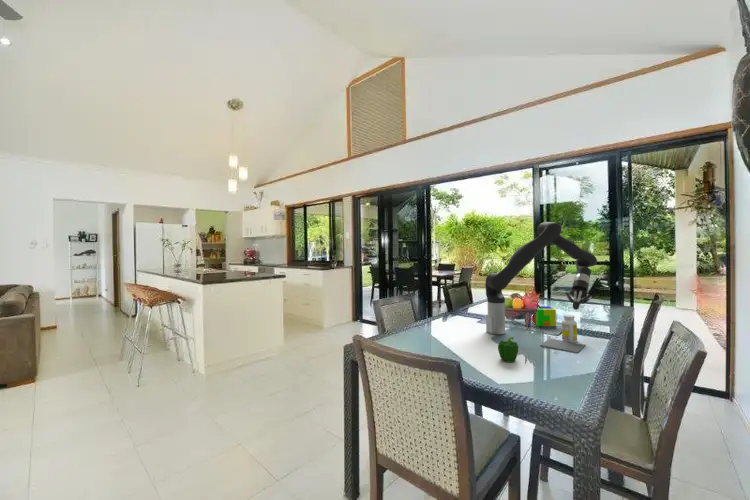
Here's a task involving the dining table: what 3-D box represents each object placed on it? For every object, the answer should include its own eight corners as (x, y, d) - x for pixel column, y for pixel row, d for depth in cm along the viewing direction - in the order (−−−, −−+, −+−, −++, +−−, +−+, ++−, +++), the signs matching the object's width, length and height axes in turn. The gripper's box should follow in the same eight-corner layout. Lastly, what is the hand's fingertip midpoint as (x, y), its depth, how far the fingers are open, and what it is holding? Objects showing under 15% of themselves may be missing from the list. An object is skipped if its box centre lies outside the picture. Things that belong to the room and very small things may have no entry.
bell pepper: (502, 364, 142) (502, 340, 142) (495, 357, 151) (495, 335, 150) (522, 363, 143) (522, 340, 142) (514, 356, 151) (513, 334, 151)
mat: (549, 339, 174) (549, 338, 174) (585, 345, 163) (585, 344, 163) (540, 346, 164) (540, 345, 164) (577, 353, 153) (577, 352, 153)
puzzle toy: (548, 322, 208) (548, 306, 208) (555, 326, 198) (555, 309, 198) (532, 322, 209) (531, 306, 209) (538, 326, 199) (538, 309, 199)
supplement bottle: (575, 339, 174) (575, 314, 173) (578, 343, 168) (578, 317, 167) (560, 338, 176) (560, 313, 176) (563, 342, 170) (563, 316, 169)
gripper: (566, 278, 191) (560, 303, 183) (593, 280, 182) (588, 306, 174) (569, 286, 195) (563, 311, 187) (596, 288, 186) (590, 314, 178)
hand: (575, 308), depth 180 cm, fingers closed
